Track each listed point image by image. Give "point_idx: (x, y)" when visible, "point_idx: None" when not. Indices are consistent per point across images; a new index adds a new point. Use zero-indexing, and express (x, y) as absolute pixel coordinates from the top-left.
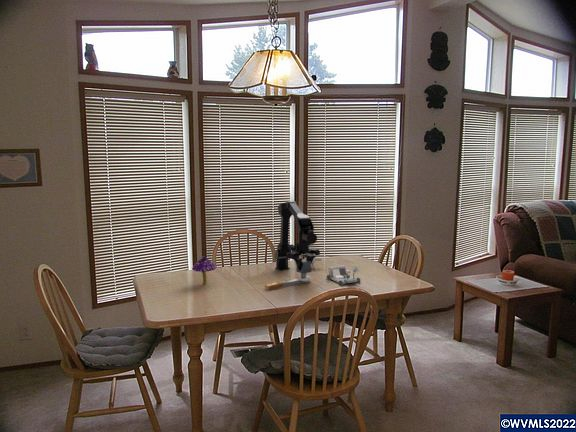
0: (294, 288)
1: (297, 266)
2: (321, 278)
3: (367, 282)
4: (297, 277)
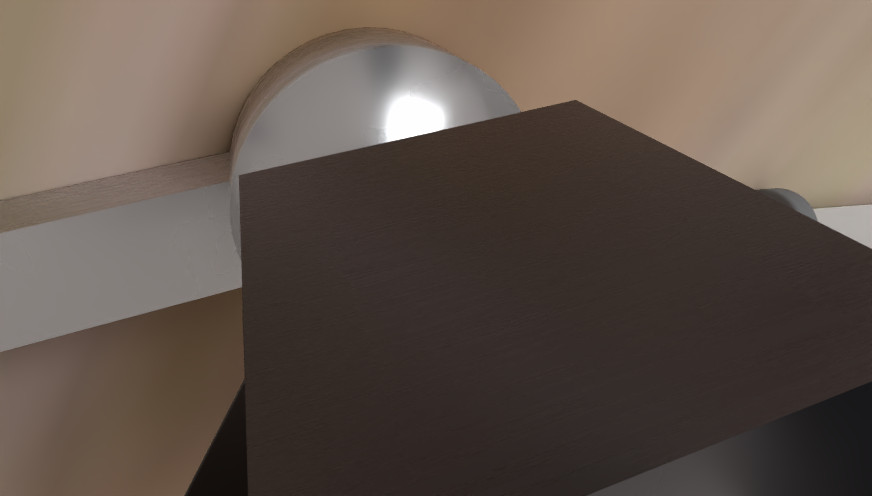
0: (13, 484)
1: (208, 483)
2: (727, 127)
3: None
4: (231, 199)
